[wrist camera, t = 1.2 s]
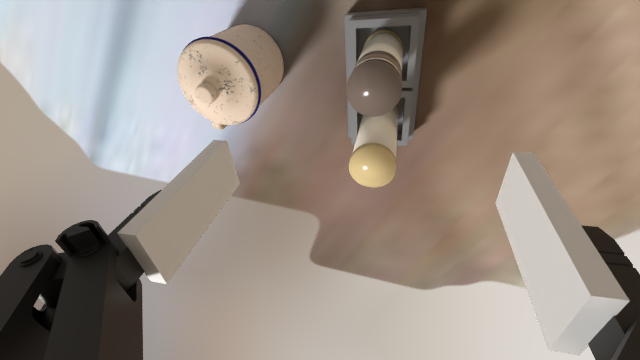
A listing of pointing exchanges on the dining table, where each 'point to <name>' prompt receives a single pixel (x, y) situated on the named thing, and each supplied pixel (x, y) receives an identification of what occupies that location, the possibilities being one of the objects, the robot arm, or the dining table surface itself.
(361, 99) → the cylinder
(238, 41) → the teacup with lid
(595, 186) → the dining table surface
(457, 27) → the dining table surface
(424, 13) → the fuse block
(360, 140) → the fuse
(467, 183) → the dining table surface
